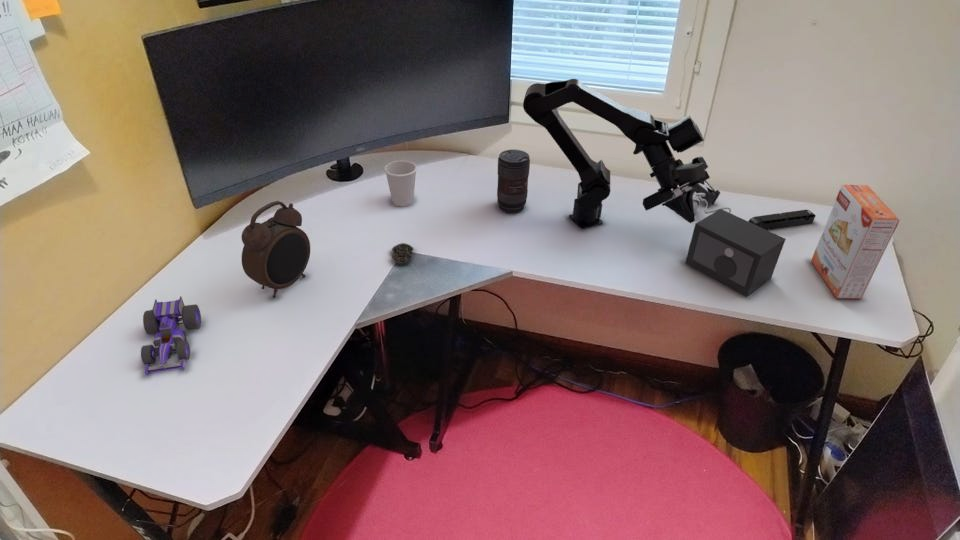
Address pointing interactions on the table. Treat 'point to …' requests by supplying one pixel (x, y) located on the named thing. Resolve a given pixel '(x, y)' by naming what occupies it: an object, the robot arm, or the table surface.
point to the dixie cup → (401, 181)
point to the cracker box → (853, 241)
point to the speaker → (734, 251)
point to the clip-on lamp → (705, 196)
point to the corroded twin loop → (402, 253)
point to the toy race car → (168, 333)
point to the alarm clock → (275, 248)
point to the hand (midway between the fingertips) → (692, 222)
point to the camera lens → (512, 180)
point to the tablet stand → (783, 219)
